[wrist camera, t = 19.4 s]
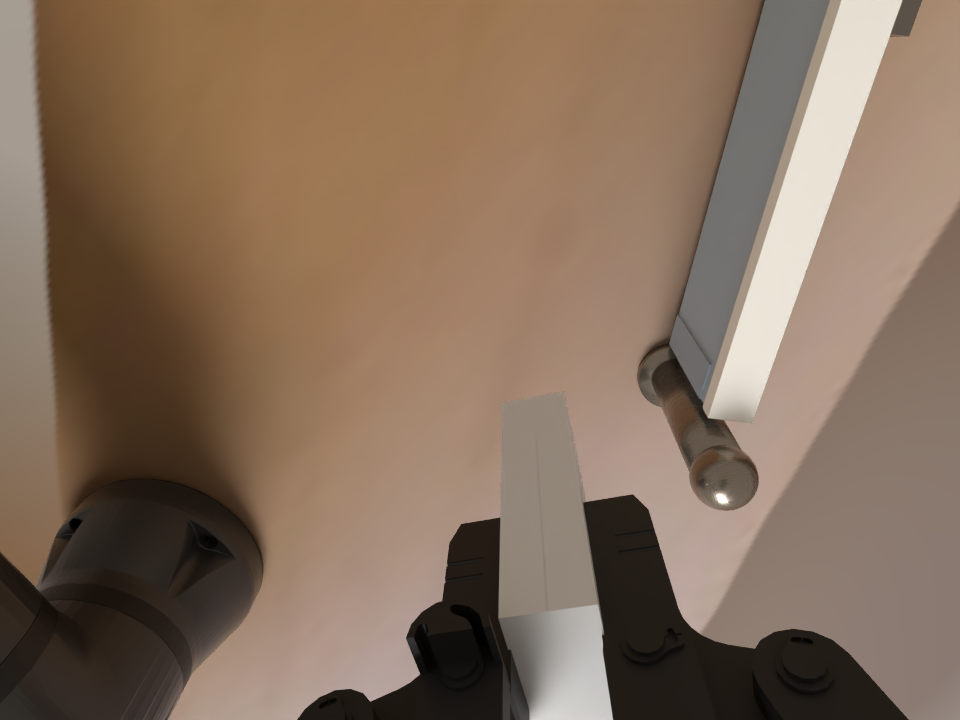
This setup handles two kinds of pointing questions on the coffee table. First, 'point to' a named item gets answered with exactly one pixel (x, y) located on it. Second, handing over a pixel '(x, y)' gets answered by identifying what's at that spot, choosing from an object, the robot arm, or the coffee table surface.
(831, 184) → the gate
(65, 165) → the coffee table surface
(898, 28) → the latch post
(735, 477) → the hinge post
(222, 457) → the coffee table surface
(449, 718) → the robot arm
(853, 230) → the coffee table surface
